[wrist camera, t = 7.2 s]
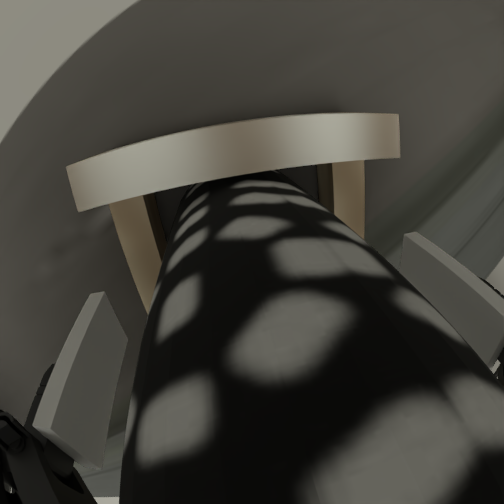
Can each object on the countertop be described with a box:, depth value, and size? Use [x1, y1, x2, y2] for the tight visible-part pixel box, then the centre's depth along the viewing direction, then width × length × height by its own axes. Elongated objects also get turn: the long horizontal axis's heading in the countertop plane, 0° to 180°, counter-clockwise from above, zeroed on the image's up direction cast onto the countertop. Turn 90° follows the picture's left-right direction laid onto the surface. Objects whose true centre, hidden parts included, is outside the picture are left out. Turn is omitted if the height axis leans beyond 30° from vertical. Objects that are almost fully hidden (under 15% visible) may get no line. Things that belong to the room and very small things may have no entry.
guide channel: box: [66, 112, 400, 314], centre depth 17 cm, size 14×22×6 cm, turn 8°
